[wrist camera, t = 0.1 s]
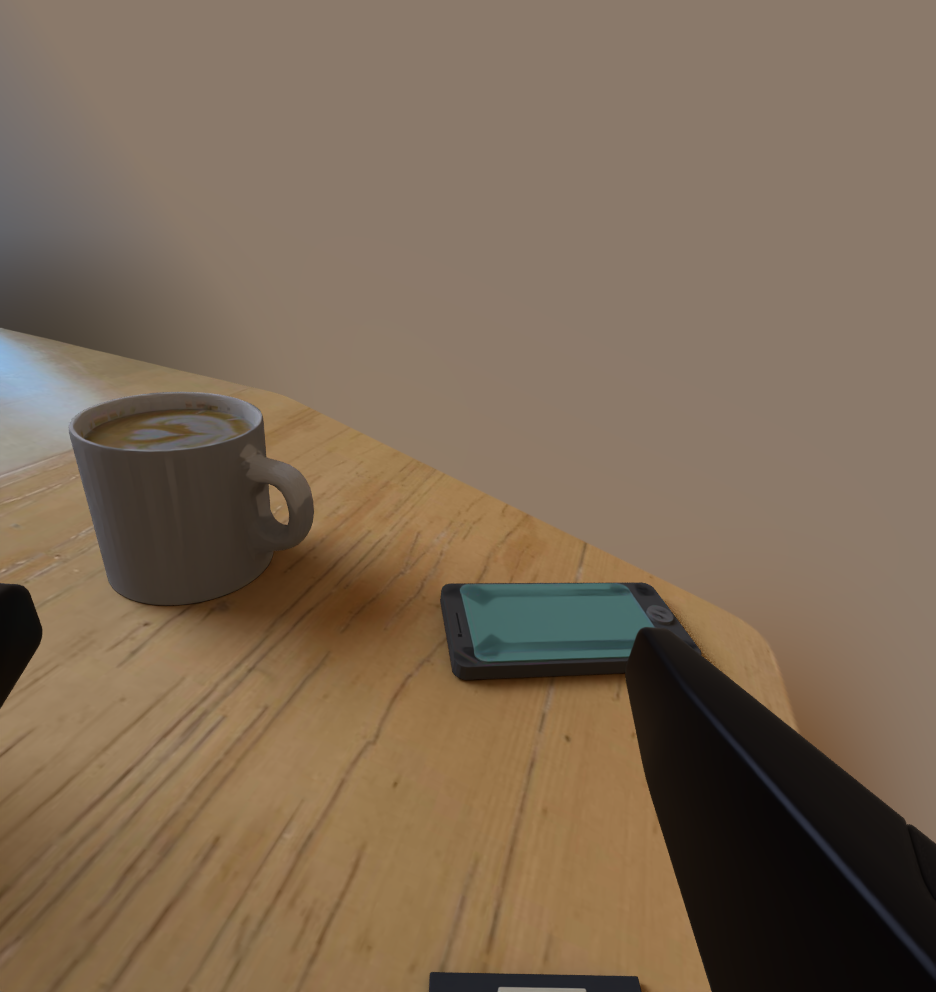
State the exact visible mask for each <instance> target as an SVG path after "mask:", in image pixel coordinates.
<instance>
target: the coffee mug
mask: <svg viewBox="0 0 936 992" xmlns="http://www.w3.org/2000/svg"><path fill="white" fill-rule="evenodd" d="M69 434H70V438H71V442H72V446H73V449H74V453H75V457H76V461H77V464H78V468H79V472H80V476H81V479H82V483H83V487H84V491H85V494H86V498H87V502H88V506H89V509H90V513H91V517H92V521H93V524H94V528H95V532H96V536H97V539H98V543H99V547H100V551H101V554H102V558H103V562H104V566H105V569H106V573H107V577H108V581H109V583H110V584H111V586H112V587H113V589H114V590H115V591H116V592H118V593H119V594H121V595H123V596H125V597H126V598H129V599H131V600H134V601H137V602H142V603H147V604H154V605H184V604H191V603H198V602H203V601H207V600H211V599H214V598H217V597H220V596H223V595H226V594H229V593H231V592H234V591H236V590H238V589H240V588H242V587H243V586H245V585H247V584H248V583H250V582H252V581H253V580H254V579H256V578H257V577H258V576H259V575H260V574H261V573H262V572H263V571H264V570H265V569H266V568H267V566H268V565H269V563H270V561H271V559H272V556H273V551H279V550H286V549H289V548H292V547H295V546H296V545H298V544H299V543H300V542H301V541H302V540H303V539H304V538H305V537H306V536H307V534H308V533H309V531H310V529H311V526H312V523H313V515H314V507H313V498H312V493H311V489H310V487H309V485H308V483H307V481H306V479H305V478H304V476H303V475H302V474H301V473H300V472H299V471H298V470H297V469H295V468H294V467H292V466H291V465H289V464H286V463H284V462H281V461H277V460H273V459H270V458H266V447H265V434H264V422H263V416H262V414H261V412H260V410H259V409H258V408H256V407H255V406H254V405H252V404H250V403H248V402H245V401H243V400H240V399H237V398H233V397H229V396H224V395H218V394H209V393H197V392H163V393H150V394H142V395H135V396H129V397H124V398H119V399H114V400H110V401H107V402H103V403H100V404H97V405H94V406H92V407H89V408H87V409H85V410H83V411H81V412H80V413H78V414H77V415H76V416H75V417H74V418H73V419H72V420H71V421H70V423H69ZM268 484H270V485H273V486H275V487H276V488H277V489H278V490H279V491H281V492H282V494H283V496H284V498H285V500H286V502H287V506H288V510H289V523H288V525H283V524H281V523H279V522H278V521H277V520H276V519H275V518H274V516H273V514H272V512H271V510H270V499H269V486H268Z"/></svg>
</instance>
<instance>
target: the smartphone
mask: <svg viewBox="0 0 936 992" xmlns="http://www.w3.org/2000/svg"><path fill="white" fill-rule="evenodd" d="M440 602H441V608H442V614H443V620H444V625H445V631H446V637H447V643H448V648H449V654H450V660H451V666H452V672H453V673H454V675H455V676H457V677H458V678H460V679H463V680H472V679H495V678H519V677H542V676H565V675H589V674H612V673H625V670H626V664H627V661H628V658H629V655H630V653H631V650H632V647H633V644H634V641H635V638H636V635H637V633H638V631H639V630H640V629H641V628H643V627H654V628H665V629H668V630H670V631H671V632H673V633H674V634H675V635H676V636H678V637H679V638H680V639H681V640H683V641H684V642H685V643H686V644H688V645H689V646H690V647H691V648H693V649H694V650H695V651H696V652H698V653H699V654H700V655H701V650H700V649H699V648H698V646H697V645H696V644H695V642H694V641H693V640H692V638H691V637H690V636H689V634H688V633H687V632H686V630H685V629H684V628H683V626H682V625H681V624H680V622H679V621H678V620H677V618H676V617H675V616H674V614H673V613H672V612H671V610H670V609H669V608H668V606H667V605H666V604H665V602H664V601H663V600H662V598H661V597H660V596H659V594H658V593H657V592H656V590H655V589H654V588H653V587H652V586H650V585H648V584H646V583H478V584H446V585H445V586H443V588H442V591H441V599H440Z"/></svg>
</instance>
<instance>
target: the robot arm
mask: <svg viewBox="0 0 936 992" xmlns="http://www.w3.org/2000/svg"><path fill="white" fill-rule="evenodd" d="M41 639H42V626H41V623H40V620H39V617H38V615H37V612H36V609H35V606H34V603H33V601H32V598H31V595H30V593H29V591H28V590H27V589H26V588H25V587H24V586H21V585H18V584H4V583H0V708H1V707H2V705H3V704H4V702H5V700H6V699H7V697H8V695H9V694H10V692H11V691H12V689H13V687H14V686H15V684H16V682H17V681H18V679H19V678H20V676H21V674H22V673H23V671H24V669H25V668H26V666H27V665H28V663H29V661H30V660H31V658H32V656H33V655H34V653H35V652H36V650H37V648H38V647H39V645H40V642H41ZM625 677H626V684H627V689H628V694H629V699H630V704H631V709H632V714H633V719H634V724H635V729H636V734H637V739H638V744H639V749H640V754H641V759H642V764H643V768H644V772H645V777H646V780H647V784H648V788H649V791H650V795H651V798H652V801H653V804H654V807H655V811H656V814H657V817H658V820H659V824H660V827H661V830H662V833H663V836H664V840H665V843H666V846H667V849H668V853H669V856H670V859H671V862H672V865H673V869H674V872H675V875H676V878H677V882H678V885H679V888H680V891H681V894H682V898H683V901H684V904H685V907H686V911H687V914H688V917H689V920H690V923H691V927H692V930H693V933H694V936H695V939H696V943H697V946H698V949H699V952H700V956H701V959H702V962H703V965H704V968H705V972H706V975H707V978H708V981H709V985H710V988H711V991H712V992H936V844H935V843H934V842H933V841H932V840H930V839H929V838H928V837H927V836H925V835H924V834H923V833H922V832H921V831H919V830H918V829H917V828H916V827H914V826H913V825H910V824H909V825H908V824H906V821H905V819H904V818H903V817H901V816H900V815H899V814H897V812H895V811H894V810H893V809H892V808H890V807H889V806H888V805H886V804H885V803H884V802H883V801H882V800H880V799H879V798H878V797H877V796H875V795H874V794H873V793H872V792H870V791H869V790H868V789H866V788H865V787H864V786H863V785H862V784H860V783H859V782H858V781H857V780H856V779H854V778H853V777H852V776H851V775H849V774H848V773H847V772H846V771H844V770H843V769H842V768H841V767H839V766H838V765H837V764H835V763H834V762H833V761H832V760H831V759H829V758H828V757H827V756H826V755H824V754H823V753H822V752H821V751H819V750H818V749H817V748H816V747H815V746H813V745H812V744H811V743H809V742H808V741H807V740H806V739H805V738H803V737H802V736H801V735H800V734H798V733H797V732H796V731H795V730H793V729H792V728H791V727H790V726H788V725H787V724H786V723H785V722H783V721H782V720H781V719H780V718H778V717H777V716H776V715H775V714H773V713H772V712H771V711H770V710H768V709H767V708H766V707H765V706H764V705H762V704H761V703H760V702H759V701H757V700H756V699H755V698H754V697H752V696H751V695H750V694H749V693H747V692H746V691H745V690H744V689H742V688H741V687H740V686H739V685H737V684H736V683H735V682H734V681H732V680H731V679H730V678H729V677H727V676H726V675H725V674H724V673H722V672H721V671H720V670H719V669H717V668H716V667H715V666H714V665H713V664H711V663H710V662H709V661H708V660H706V659H705V658H704V657H703V656H701V655H700V654H699V653H698V652H696V651H695V650H694V649H693V648H691V647H690V646H689V645H688V644H686V643H685V642H684V641H683V640H681V639H680V638H679V637H678V636H676V635H675V634H674V633H673V632H671V631H670V630H668V629H665V628H654V627H643V628H641V629H640V630H639V631H638V633H637V635H636V638H635V641H634V644H633V647H632V650H631V653H630V655H629V658H628V661H627V664H626V670H625Z"/></svg>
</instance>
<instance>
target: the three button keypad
mask: <svg viewBox="0 0 936 992" xmlns="http://www.w3.org/2000/svg"><path fill="white" fill-rule="evenodd" d="M429 992H641V988H640V984H639V980H638V977H637V976H593V975H544V974H495V973H445V972H431V973H430V980H429Z"/></svg>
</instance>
